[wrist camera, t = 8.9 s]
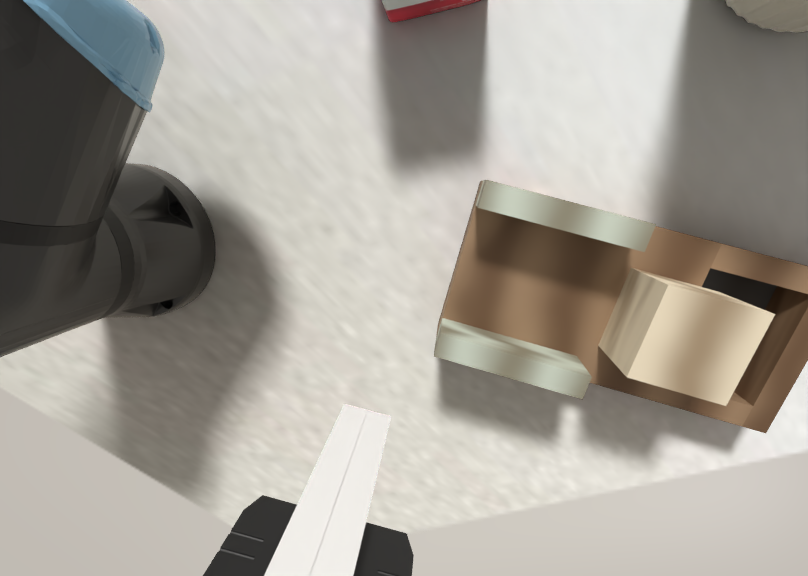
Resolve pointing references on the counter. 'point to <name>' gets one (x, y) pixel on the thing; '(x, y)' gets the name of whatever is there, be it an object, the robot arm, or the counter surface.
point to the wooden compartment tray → (604, 300)
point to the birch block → (682, 336)
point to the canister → (773, 13)
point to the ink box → (419, 7)
